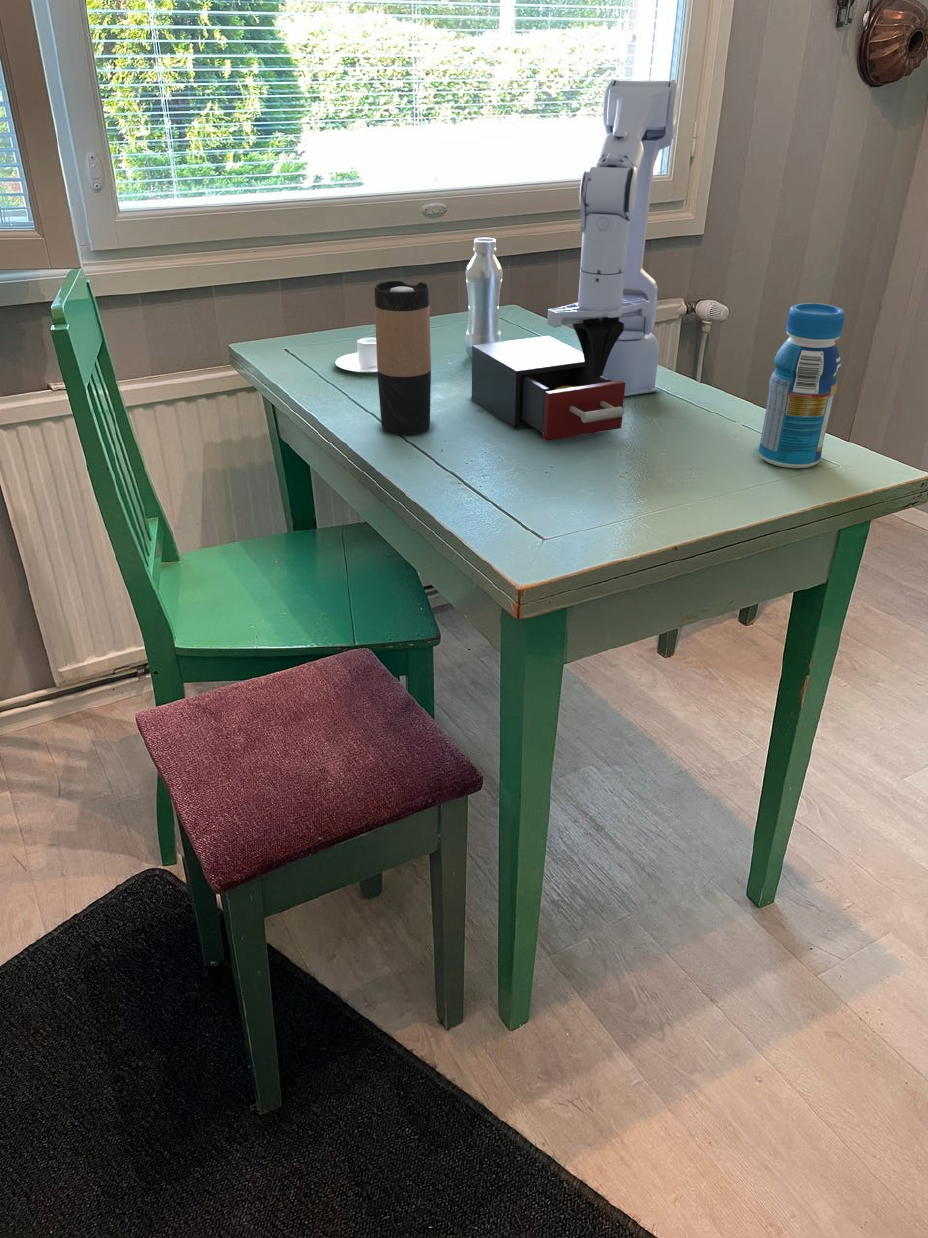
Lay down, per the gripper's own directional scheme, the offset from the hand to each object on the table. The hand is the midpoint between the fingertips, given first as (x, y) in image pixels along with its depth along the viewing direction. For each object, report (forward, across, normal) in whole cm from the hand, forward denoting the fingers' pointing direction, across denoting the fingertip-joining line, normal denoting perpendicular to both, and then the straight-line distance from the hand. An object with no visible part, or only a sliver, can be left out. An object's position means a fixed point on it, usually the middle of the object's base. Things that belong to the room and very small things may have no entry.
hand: (594, 374), depth 127 cm
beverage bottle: (+10, +22, -16) cm, 29 cm away
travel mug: (+10, -21, +17) cm, 29 cm away
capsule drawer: (+9, 0, +6) cm, 11 cm away
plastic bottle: (+10, +5, +44) cm, 45 cm away
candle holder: (+10, -15, +48) cm, 51 cm away
